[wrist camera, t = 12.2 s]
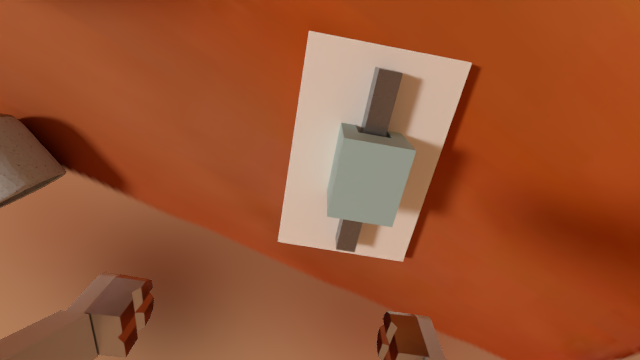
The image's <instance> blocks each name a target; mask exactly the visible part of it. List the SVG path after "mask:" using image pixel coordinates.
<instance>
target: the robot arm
mask: <svg viewBox="0 0 640 360" xmlns="http://www.w3.org/2000/svg"><path fill="white" fill-rule="evenodd" d="M152 288H153V284H152V280H150V279H146V278H139V277H133V276H127V275H121V274H120V275H119V274H113V273H107V272H104V273H102V274H100V275H99V276H98V277H97V278H96V279H95V280H94V281H93V282H92V283H91V284H90V286H89V287H88V288H87V289H86V290H85V291H84V292H83V293H82V294H81V295H80V296H79V297H78V298H77V299H76V300H75V302H74V303H73V304H72V305H71V306H70V307H69V308H68V309H67V310H66V311H61V310H60V311H58V312H57V313H54V314H53V315H50V316H48V317H46V318H44V319H42V320H40V321H38V322H36V323H34V324H32V325H30V326H27V327H26V328H23V329H21V330H19V331H17V332H15V333H13V334H11V335H9V336H7V337H5V338H3V339H1V340H0V360H94V359H95V358H96V357H97V356H98V355H106V356H117V357H127V355H128V354H129V352H130V350H131V349H132V347H133V345H134V344H135V342H136V341H137V339H138V335H137V331H138V330H140V329H142V328H143V327H145V326H146V324H147V322H148V321H149V319H150V317H151V314H152V311H153V307H154V298H153V296H152V295H151V294H150V291H151V290H152ZM383 322H384V325H383V326H381V327H380V328H379V331H378V335H377V353H378V357H379V358H380V359H381V360H446V358H445V356H444V353H443V350H442V348H441V345H440V342H439V340H438V337H437V334H436V332H435V329H434V326H433V324H432V321H431V319H430V318H429V317H428V316H420V315H413V314H405V313H397V312H389V311H387V312H386V313H385V314H384V317H383Z"/></svg>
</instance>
